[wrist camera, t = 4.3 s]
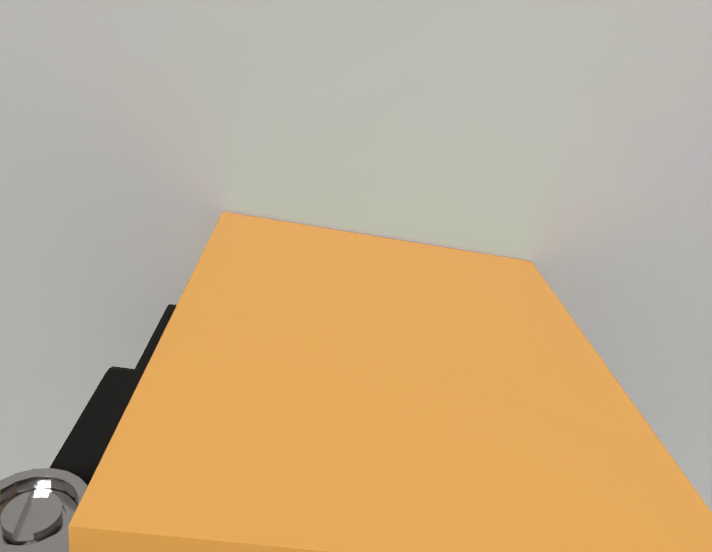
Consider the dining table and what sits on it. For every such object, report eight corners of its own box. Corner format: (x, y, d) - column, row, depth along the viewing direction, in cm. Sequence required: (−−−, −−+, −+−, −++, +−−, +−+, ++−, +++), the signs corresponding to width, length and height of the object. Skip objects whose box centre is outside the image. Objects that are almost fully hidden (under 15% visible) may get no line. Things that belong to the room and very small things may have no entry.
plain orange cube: (223, 211, 11) (67, 526, 4) (531, 261, 11) (770, 595, 5) (200, 455, 13) (82, 870, 7) (452, 484, 14) (549, 886, 8)
